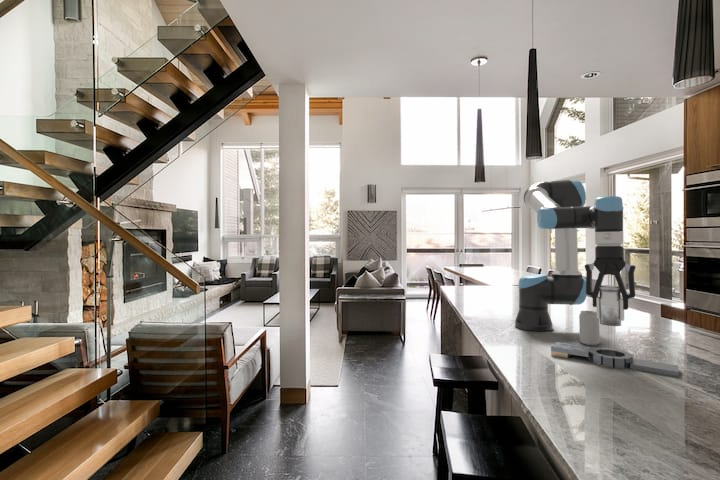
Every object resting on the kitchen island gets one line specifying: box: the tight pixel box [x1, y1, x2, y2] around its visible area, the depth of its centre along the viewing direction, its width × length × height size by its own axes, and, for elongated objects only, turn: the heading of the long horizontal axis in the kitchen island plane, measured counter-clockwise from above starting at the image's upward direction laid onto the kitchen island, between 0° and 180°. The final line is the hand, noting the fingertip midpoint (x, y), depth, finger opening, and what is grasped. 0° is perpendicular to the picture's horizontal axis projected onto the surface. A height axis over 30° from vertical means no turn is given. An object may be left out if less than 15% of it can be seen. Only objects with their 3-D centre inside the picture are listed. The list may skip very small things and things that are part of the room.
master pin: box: [598, 284, 622, 327], centre depth 120 cm, size 6×6×12 cm
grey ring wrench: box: [550, 341, 679, 378], centre depth 121 cm, size 33×12×3 cm, turn 50°
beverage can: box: [578, 310, 601, 346], centre depth 142 cm, size 6×6×12 cm
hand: (610, 318), depth 120 cm, fingers closed on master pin, 5 cm apart
